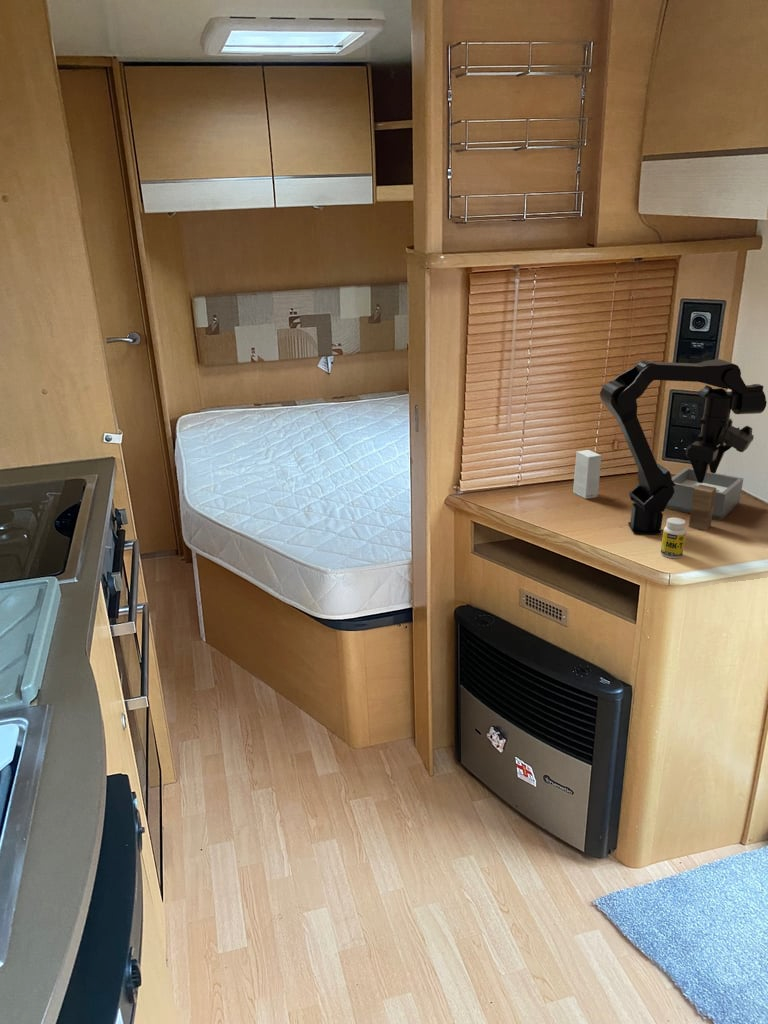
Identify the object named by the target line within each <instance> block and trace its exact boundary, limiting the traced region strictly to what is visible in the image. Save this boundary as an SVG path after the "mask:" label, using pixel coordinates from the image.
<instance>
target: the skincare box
mask: <svg viewBox="0 0 768 1024" xmlns="http://www.w3.org/2000/svg"><path fill="white" fill-rule="evenodd" d="M575 453H576V454H575V462H574V463H575V465H574V476H573V477H574V478H573V487H572V489H573V490H572V492H573V493H574V494H575V495H578V496H579V497H581V498H583V499H585V500H588V499H593V498H594V499H595V498H598V496H599V486H600V476H601V466H602V464H601V463H602V454H599V453H597V452H594V451H592V450H590V449H585V450H577V451H575Z"/></svg>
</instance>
